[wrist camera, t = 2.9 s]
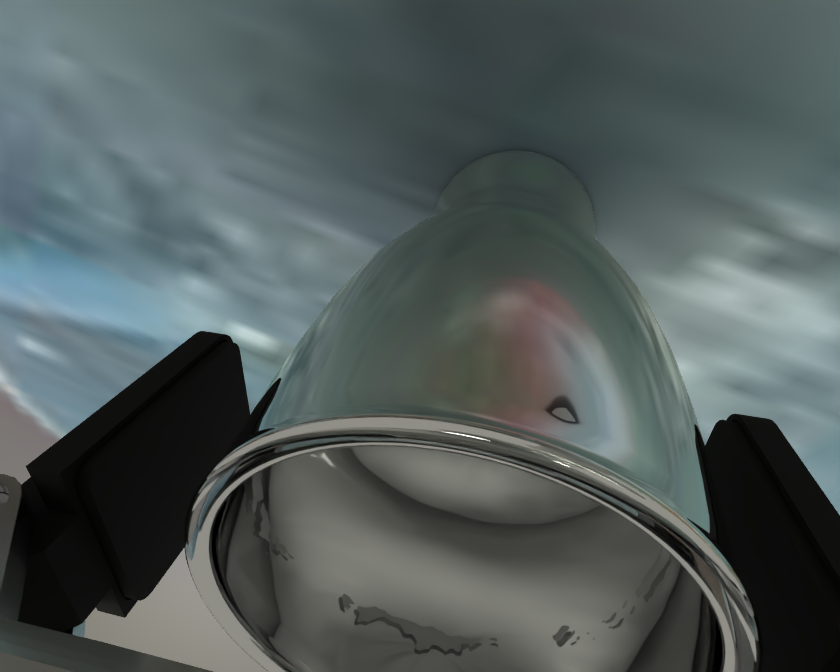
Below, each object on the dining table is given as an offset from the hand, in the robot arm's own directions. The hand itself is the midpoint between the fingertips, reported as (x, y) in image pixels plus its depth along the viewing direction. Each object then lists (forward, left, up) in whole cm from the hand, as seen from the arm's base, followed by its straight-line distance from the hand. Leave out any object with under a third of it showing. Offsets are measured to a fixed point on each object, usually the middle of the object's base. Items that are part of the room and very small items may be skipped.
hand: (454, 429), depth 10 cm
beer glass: (-1, 0, -11) cm, 11 cm away
